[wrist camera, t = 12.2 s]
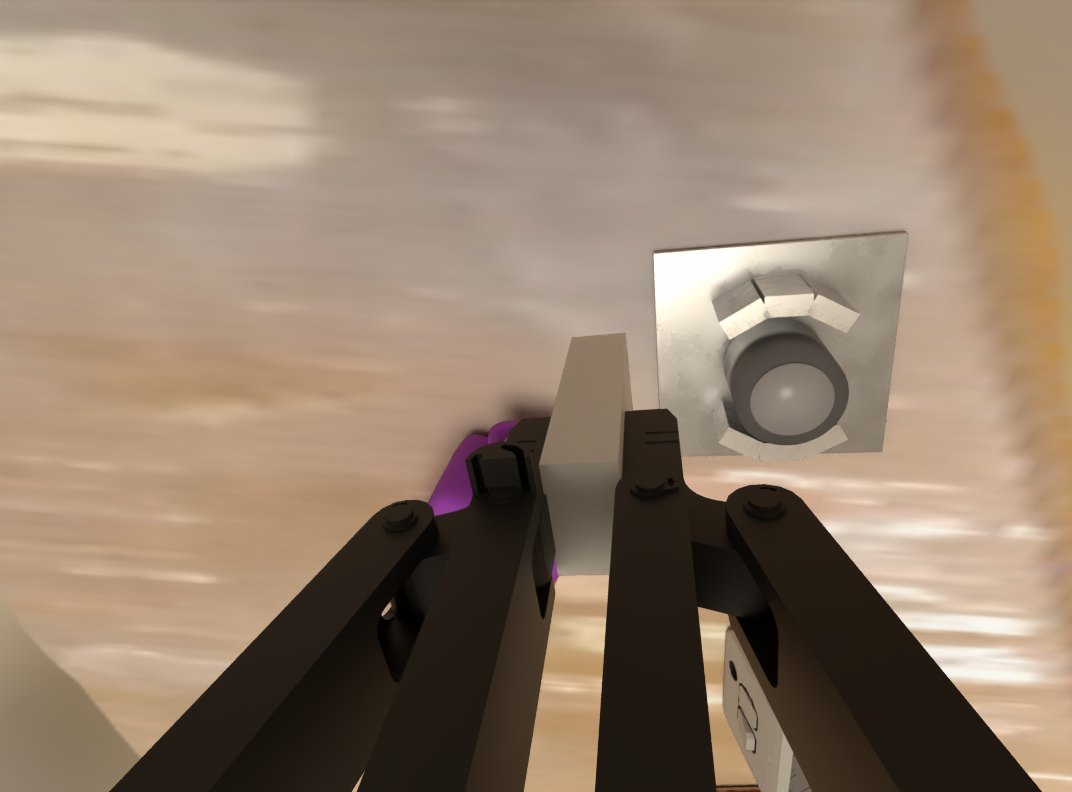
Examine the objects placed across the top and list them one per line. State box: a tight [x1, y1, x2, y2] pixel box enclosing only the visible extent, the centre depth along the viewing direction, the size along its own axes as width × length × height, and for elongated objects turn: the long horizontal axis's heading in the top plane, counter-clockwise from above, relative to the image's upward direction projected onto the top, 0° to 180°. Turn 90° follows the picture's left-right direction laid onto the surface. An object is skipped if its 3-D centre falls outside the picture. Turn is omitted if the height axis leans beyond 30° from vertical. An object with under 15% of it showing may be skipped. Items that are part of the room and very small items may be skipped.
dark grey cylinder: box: [724, 317, 849, 445], centre depth 37 cm, size 6×6×5 cm
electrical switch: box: [723, 629, 812, 792], centre depth 47 cm, size 9×5×9 cm, turn 5°
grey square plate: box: [654, 231, 909, 461], centre depth 38 cm, size 14×14×5 cm
